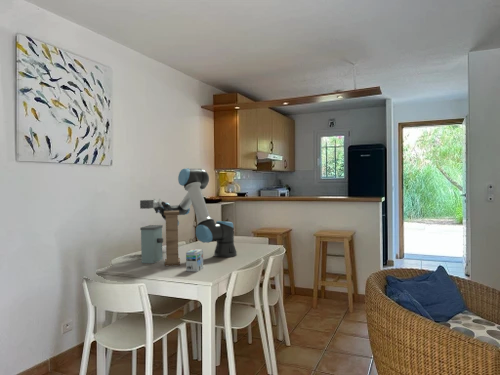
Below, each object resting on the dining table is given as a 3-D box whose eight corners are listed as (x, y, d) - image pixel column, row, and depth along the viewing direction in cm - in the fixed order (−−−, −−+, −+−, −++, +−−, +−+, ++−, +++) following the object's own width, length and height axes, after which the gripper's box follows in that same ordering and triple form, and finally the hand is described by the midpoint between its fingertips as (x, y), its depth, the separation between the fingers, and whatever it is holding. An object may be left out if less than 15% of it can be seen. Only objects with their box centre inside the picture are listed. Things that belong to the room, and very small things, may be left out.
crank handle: (149, 208, 228) (149, 200, 228) (140, 208, 229) (140, 200, 229) (166, 205, 256) (166, 198, 256) (158, 206, 257) (158, 198, 256)
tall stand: (180, 265, 223) (179, 211, 223) (164, 266, 221) (163, 212, 221) (179, 260, 238) (178, 210, 238) (165, 261, 236) (164, 210, 236)
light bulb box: (197, 272, 204) (197, 252, 204) (185, 271, 206) (185, 252, 206) (203, 267, 215) (203, 249, 215) (192, 267, 216) (192, 248, 216)
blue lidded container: (167, 258, 244) (166, 225, 244) (158, 263, 230) (157, 227, 230) (150, 258, 246) (150, 225, 246) (140, 263, 231) (140, 227, 231)
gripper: (178, 220, 264) (167, 205, 243) (156, 220, 266) (143, 205, 246) (179, 210, 267) (169, 195, 247) (158, 210, 270) (146, 195, 249)
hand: (156, 200), depth 246 cm, fingers closed on crank handle, 3 cm apart
